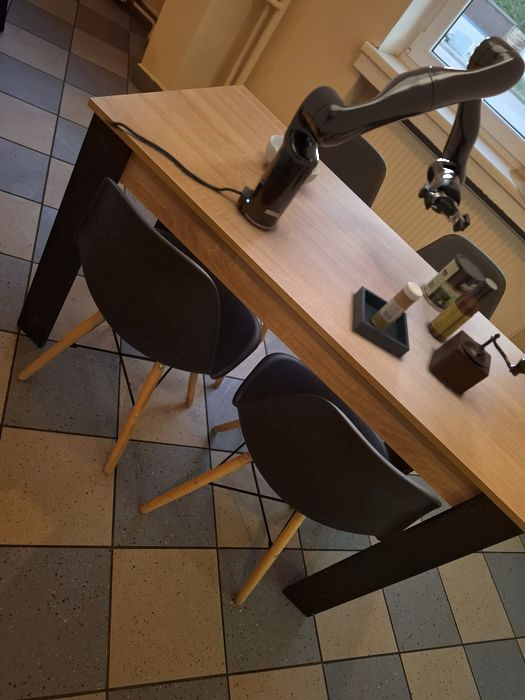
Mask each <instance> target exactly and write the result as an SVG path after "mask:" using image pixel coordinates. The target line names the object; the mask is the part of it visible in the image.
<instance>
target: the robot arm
mask: <svg viewBox="0 0 525 700" xmlns="http://www.w3.org/2000/svg"><path fill="white" fill-rule="evenodd" d="M524 75H525V60H524V58H523V57H522V55H521V54H520V53H519V52H518V51H517V50H516V49H515V48H514V47H513V46H512V45H510V44H509V42H507V41H506V40H505V39H504V38H502V37H501V36H498V35H492V36H489V37H486V38H484V39H483V40H482V41H480V42H479V44H477V45H476V47H474V49H473V51H472V53H471V55H470V56H469V58H468V61H467V65H466V68H465V69H462V68H454V67H448V66H447V67H446V66H441V65H438V66H436V65H425V66H422V67H417V68H414V69H410V70H407V71H404V72H401V73H399V74H397V75H395V76H394V77H393V78H392V79H390V80H389V81H388V82H387V84H385V86H384V87H382V89H381V90H380V92H379V93H378V94H377V95H376V96H375V97H373V98H372V99H370V100H367V101H364V102H361V103H357V104H352V105H349V104H347V103H346V101H345V100H344V99H343V98H342V96H341V94H339V92H338V91H337V90H336V89H335V88H333V86H331V85H326V84H325V85H320V86H317V87H315V88H314V89H313V90H311V91H310V92H309V93H308V94H307V95H306V96H305V97H304V99H303V100H302V101H301V103H300V105H299V106H298V108H297V109H296V111H295V114H294V116H293V117H292V118H291V120H290V123H289V124H288V126H287V128H286V130H285V132H284V134H283V136H284V138H283V143H282V145H281V146H280V148H279V150H278V151H277V153H276V154H275V156H274V158H273V159H272V161H271V162H270V164H269V163H268V165H267V167H266V169H265V170H264V171H263V172H262V173H261V174H260V176H259V178H258V180H257V181H256V183H255V184H254V186H253V187H252V188H250V187H248V186H247V185H245V186H244V187H243V189H242V191H240V190H237V189H235V188H231V187H216V186H214V185H211V184H209V183H208V182H206V181H204V180H203V179H201V178H200V177H199V176H197V175H196V174H194V173H193V172H191V170H189V169H188V168H186V167H185V166H184V165H183V164H182V163H181V162H180V161H179V160H178V159H177V158H176V157H175V156H173V155H172V154H171V153H170V152H168V151H167V150H166V149H164V148H162V146H159V145H158V144H156V143H155V142H153V141H150V140H149V139H147V138H145V137H144V136H142V135H140V134H138V133H137V132H136V131H134V130H133V129H132V128H131V127H130V126H128V125H127V124H125V123H123V122H120V121H112V122H109V124H110V125H111V126H120V127H122V128H124V129H125V130H127V131H128V132H129V133H130V134H132V135H133V136H134V137H136V138H137V139H139V140H141V141H142V142H144V143H146V144H148V145H150V146H152V147H153V148H155V149H157V150H158V151H159V152H161V153H163V154H164V155H165V156H167V157H168V158H170V159H171V160H172V161H173V162H174V163H175V164H176V165H177V166H178V167H179V168H181V170H183V172H185V173H186V174H187V175H189V176H190V177H192V178H193V179H195V180H196V181H198V182H199V183H201V184H202V185H203V186H205V187H206V188H209V189H211V190H213V191H217V192H225V191H227V192H231V193H235V194H237V195H239V196H238V199H237V203H238V204H240V205H241V206H242V207H241V210H240V213H241V214H243V215H244V217H245V218H246V219H247V220H248V221H249V222H250V223H251V224H253V225H254V226H255V227H258V228H260V229H262V230H266V231H270V230H273V229H274V228H275V227H276V225H277V224H278V222H279V221H280V219H281V218H282V216H283V215H284V213H285V212H286V211H287V210H288V208H289V207H290V205H291V203H292V202H293V201H294V200H295V198H296V196H297V195H298V194H299V192H300V191H301V190H302V188H303V187H304V185H306V184H305V182H306V181H307V179H308V178H309V177H310V175H311V174H312V172H313V171H314V170H315V168H316V167H317V165H319V161H320V157H319V151H318V149H319V148H318V146H321V147H324V148H330V147H335V146H339V145H341V144H344V143H347V142H349V141H351V140H353V139H355V138H359V137H360V136H363V135H365V134H367V133H369V132H372V131H374V130H377V129H380V128H382V127H386V126H389V125H391V124H395V123H397V122H400V121H404V120H408V119H411V118H416V117H418V116H421V115H425V114H428V113H431V112H433V111H437V110H439V109H443V108H446V107H450V106H454V105H457V108H456V113H455V117H454V120H453V123H452V125H451V129H450V130H449V134H448V136H447V139H446V141H445V143H444V146H443V148H442V156H443V159H442V158H438V159H435V160H433V161H432V162H431V163H430V164H429V166H428V168H427V171H426V182H425V183H424V184H423V185H422V186H421V188H420V189H419V192H418V194H417V197H418V198H419V199H423V202H424V203H423V205H424V206H425V207H424V209H425V210H426V211H428V210H430V209H431V210H432V211H433V212H434V213H436V214H438V215H442V216H444V218H445V219H446V221H447V222H449V223H451V224H452V232H453V233H459V232H462V233H463V232H465V230H466V229H468V227H470V226H471V218H470V214H469V213H467V212H464V213H463V212H462V210H461V209H460V204H461V201H462V187H463V185H464V184H465V181H466V179H467V178H466V177H467V173H468V162H469V158H470V156H471V153H472V151H473V150H474V146H475V144H476V143H477V140H478V137H479V134H480V130H481V119H482V101H483V99H488V98H492V97H497V96H500V95H502V94H505V93H506V92H509V90H511V89H513V88H514V87H515V86H516V85H517V84H518V83H519V82H520V81H521V80H522V78H523V77H524Z"/></svg>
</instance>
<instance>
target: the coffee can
mask: <svg viewBox="0 0 525 700" xmlns="http://www.w3.org/2000/svg"><path fill="white" fill-rule="evenodd" d="M484 279H486V278H485V275H484V273H483V271H482V270H481V269H480V267H479V266H478V265H477V264H476V263H475V262H474V260H473V259H471V258H469V257H468V256H466V255H464V254H462V253H457V255H456V256H455V257H454V258H453V259H452V260H451V261H450V262H449V263H448V264H446V265H445V266H444V267H443V268H442V269H441V270H440V271H439V272H438V273H437V274H436V275H434V276H433V277H432V278H431V279H430V280H429V281H427V283H426V284H425V285H424V286H422V289H421V290H422V293H423V297H424V298H425V299H426V300H427V302H428V303H429V304H430V305H431V306H432V307H433V308H434V309H436V310H438V311H439V312H443V311H444V310H445V309H446V308H447V307H448V306H449V305H450V304H451V303H452V302H454V301H455V300H456V299H457V298H458V297H460V296H461V295H463V294H465V293H468V292H470V291H472V290H474V289H475V288H476V287H477V286H479V285H480V284H481V282H482V281H483V280H484Z"/></svg>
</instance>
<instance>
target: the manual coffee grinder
mask: <svg viewBox="0 0 525 700" xmlns="http://www.w3.org/2000/svg"><path fill="white" fill-rule="evenodd" d="M500 338H501V333H499V332H496V333H495V334H494V335H491V336H490V338H489V339H488V340H486V341H485V342H484V343H482V344H480V343H479V342H478V341H476V340H475V339H473V338H472V337H471V336H470V335H469V334H468V333H466V331H464V330H463V329H462V330H459V331H458V332H457V333H456V334H455V335H453V336H452V337H450V338H449V339H447V341H445V342H443V344H442V345H440V346H439V347H437V348H436V349H435V350H434V351H433V354H432V357H431V360H430V362H429V365H428V370H429V372H430V373H431V374H432V375H434V376H435V377H436V378H437V379H438V380H439V381H440V382H441V383H442V384H443V385H444V386H445V387H447V388H448V389H449V390H451V391H452V392H453V393H454V394H456V395H458V396H459V397H461V396H462V395H463V394H464V393H466V392H467V391H469V390H470V389H472V388H473V387H475V386H476V385H478V384H479V383H480V382H482V381H483V380H485V379H487V378H488V377H489V375H490V370H491V364H492V363H491V362H492V355H491V354H490V353H489V352H488V351H487V350H486V349H485V348H486V347H488V346H489V345H490V344H492V343H493V346H494V347H495V349H496V350H497V352H498V353H499V354H500V356H501V357H502V359H503V360H504V362H505V364H506V367H507V368H508V370H509V371H508V372H509V373H511V375H512V376H513V377H514V378H515V377H517V376H518V375H525V357H522V358H520V359H519V360H518V362H517V363H516V364H511V362H510V359H509V358H508V356H507V355H506V353H505V351H504V350H503V349H502V348H501V347H500V345H499V344H498V342H497V340H498V339H500Z"/></svg>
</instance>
